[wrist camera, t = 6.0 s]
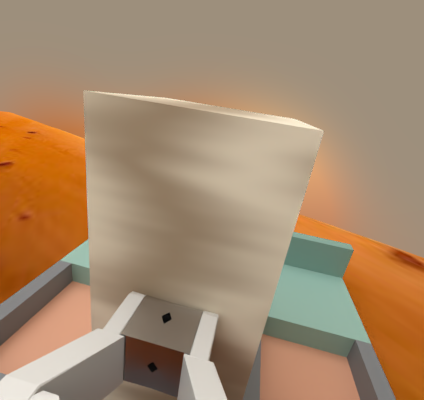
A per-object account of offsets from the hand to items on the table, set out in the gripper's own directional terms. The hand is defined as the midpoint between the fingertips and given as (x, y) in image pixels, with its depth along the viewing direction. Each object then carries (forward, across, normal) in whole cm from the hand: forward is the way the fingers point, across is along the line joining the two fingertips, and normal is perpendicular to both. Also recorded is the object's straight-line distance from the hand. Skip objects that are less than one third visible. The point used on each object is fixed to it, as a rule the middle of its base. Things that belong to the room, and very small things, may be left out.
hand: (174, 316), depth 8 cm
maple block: (+3, 0, +6) cm, 7 cm away
